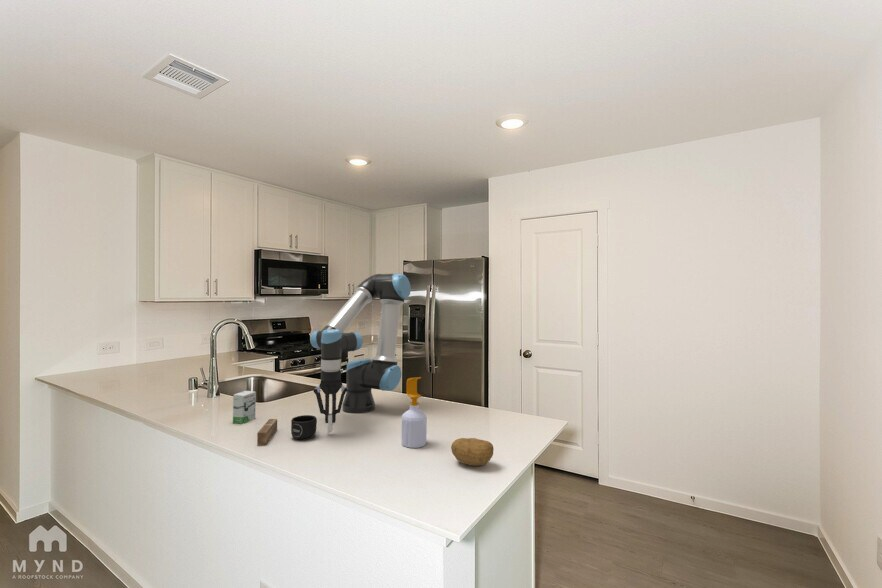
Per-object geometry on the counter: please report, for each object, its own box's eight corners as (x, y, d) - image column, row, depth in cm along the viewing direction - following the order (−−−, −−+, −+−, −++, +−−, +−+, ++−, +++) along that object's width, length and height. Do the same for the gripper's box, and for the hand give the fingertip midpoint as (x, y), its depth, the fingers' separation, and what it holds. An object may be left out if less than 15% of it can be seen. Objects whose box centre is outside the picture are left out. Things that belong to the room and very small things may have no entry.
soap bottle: (407, 450, 143) (408, 380, 143) (397, 441, 151) (398, 375, 151) (430, 446, 147) (431, 377, 147) (419, 437, 155) (420, 373, 155)
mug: (306, 443, 148) (306, 423, 148) (285, 439, 151) (286, 420, 151) (325, 432, 160) (326, 414, 160) (306, 429, 163) (306, 411, 163)
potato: (456, 455, 139) (456, 431, 139) (496, 462, 134) (497, 437, 134) (446, 466, 130) (446, 441, 130) (489, 474, 124) (489, 448, 124)
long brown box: (277, 430, 161) (277, 418, 161) (266, 445, 146) (266, 431, 146) (269, 430, 161) (269, 418, 161) (257, 445, 145) (257, 432, 145)
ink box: (242, 424, 168) (242, 395, 168) (232, 423, 169) (232, 394, 169) (256, 418, 177) (256, 390, 177) (246, 417, 178) (246, 390, 178)
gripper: (349, 367, 162) (348, 427, 162) (314, 368, 159) (314, 428, 159) (347, 371, 154) (346, 433, 154) (312, 372, 152) (311, 435, 152)
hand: (330, 431), depth 157 cm, fingers closed
